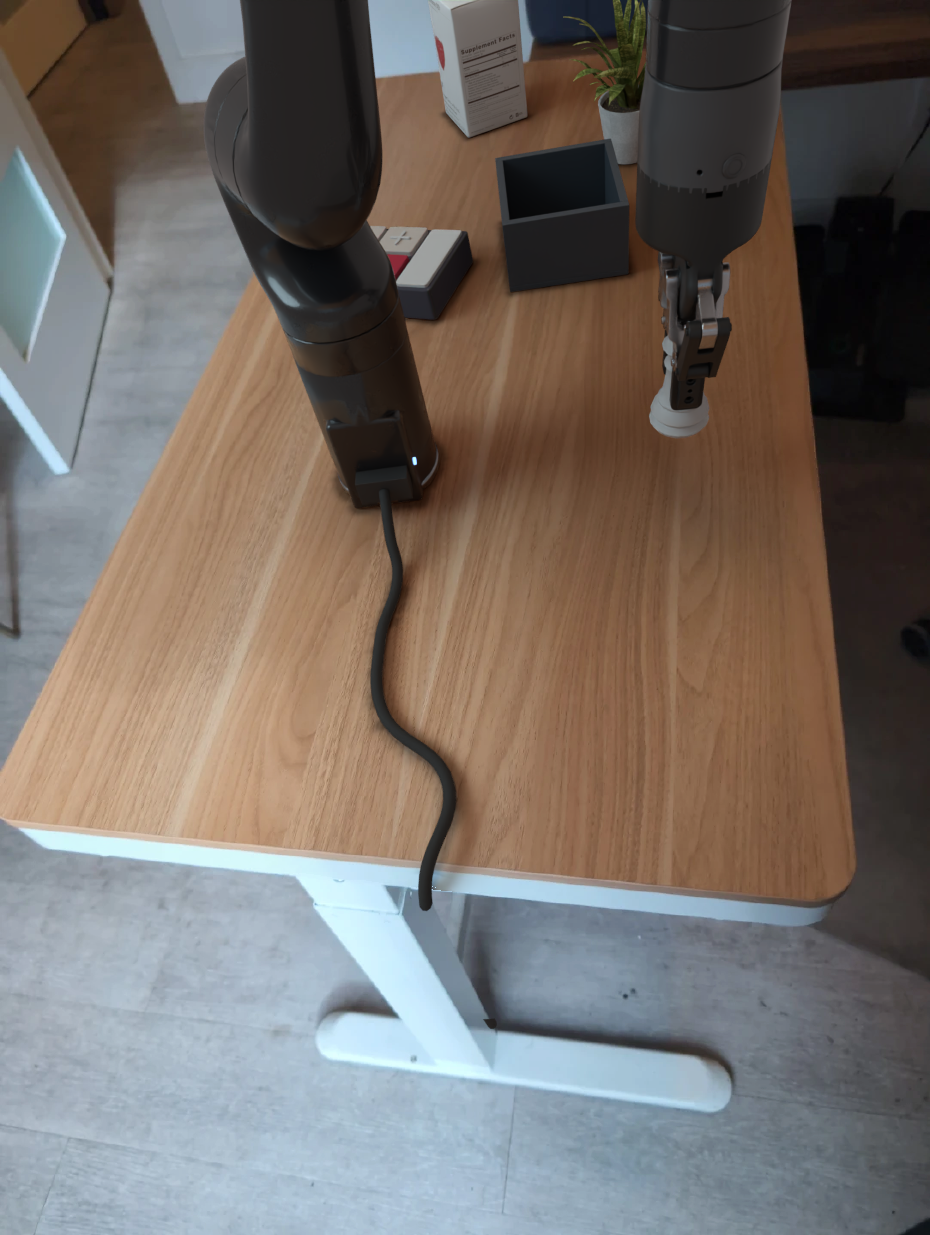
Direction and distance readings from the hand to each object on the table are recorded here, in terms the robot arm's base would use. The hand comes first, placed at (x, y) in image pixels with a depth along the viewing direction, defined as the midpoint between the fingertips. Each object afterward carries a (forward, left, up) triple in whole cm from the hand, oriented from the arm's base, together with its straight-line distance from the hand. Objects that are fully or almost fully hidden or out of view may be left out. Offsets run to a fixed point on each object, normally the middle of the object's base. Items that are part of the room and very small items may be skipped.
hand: (681, 388), depth 61 cm
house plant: (+57, -3, -11) cm, 58 cm away
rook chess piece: (0, 0, -3) cm, 3 cm away
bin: (+38, +6, -11) cm, 40 cm away
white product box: (+72, +13, -11) cm, 74 cm away
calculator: (+36, +25, -11) cm, 45 cm away
